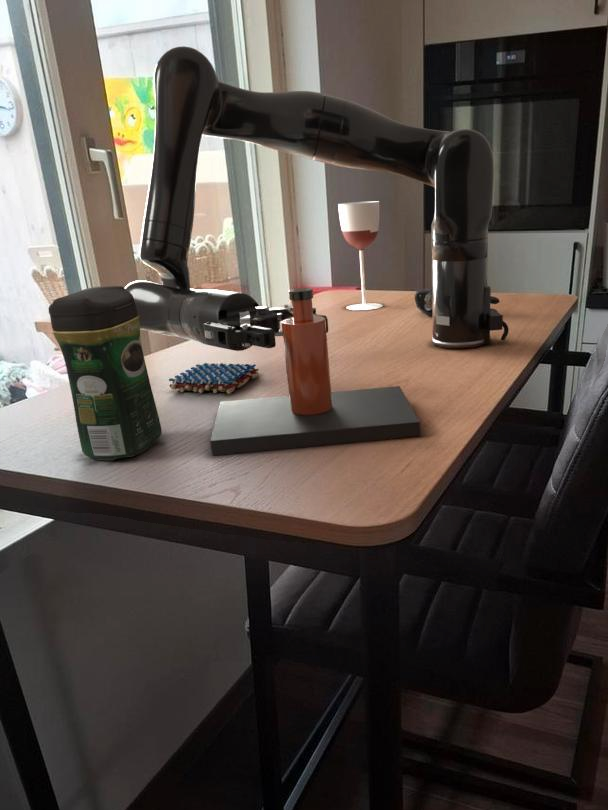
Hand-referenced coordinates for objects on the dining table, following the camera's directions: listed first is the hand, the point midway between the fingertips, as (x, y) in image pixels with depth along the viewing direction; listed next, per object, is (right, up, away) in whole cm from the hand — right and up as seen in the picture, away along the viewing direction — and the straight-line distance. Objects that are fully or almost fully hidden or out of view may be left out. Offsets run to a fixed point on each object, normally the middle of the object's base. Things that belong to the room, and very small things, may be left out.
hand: (300, 331), depth 84 cm
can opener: (+27, +16, +60) cm, 68 cm away
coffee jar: (-21, -14, 0) cm, 25 cm away
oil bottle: (+1, -9, +3) cm, 10 cm away
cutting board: (+2, -11, +3) cm, 11 cm away
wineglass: (+8, +22, +75) cm, 79 cm away
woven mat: (-15, -3, +23) cm, 28 cm away
